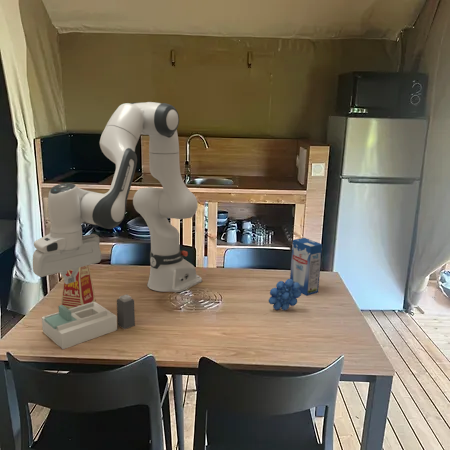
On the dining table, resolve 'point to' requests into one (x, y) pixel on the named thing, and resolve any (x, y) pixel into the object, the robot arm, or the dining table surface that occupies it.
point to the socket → (82, 325)
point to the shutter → (60, 317)
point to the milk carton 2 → (306, 265)
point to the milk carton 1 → (78, 289)
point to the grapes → (285, 294)
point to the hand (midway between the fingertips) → (70, 282)
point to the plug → (125, 312)
